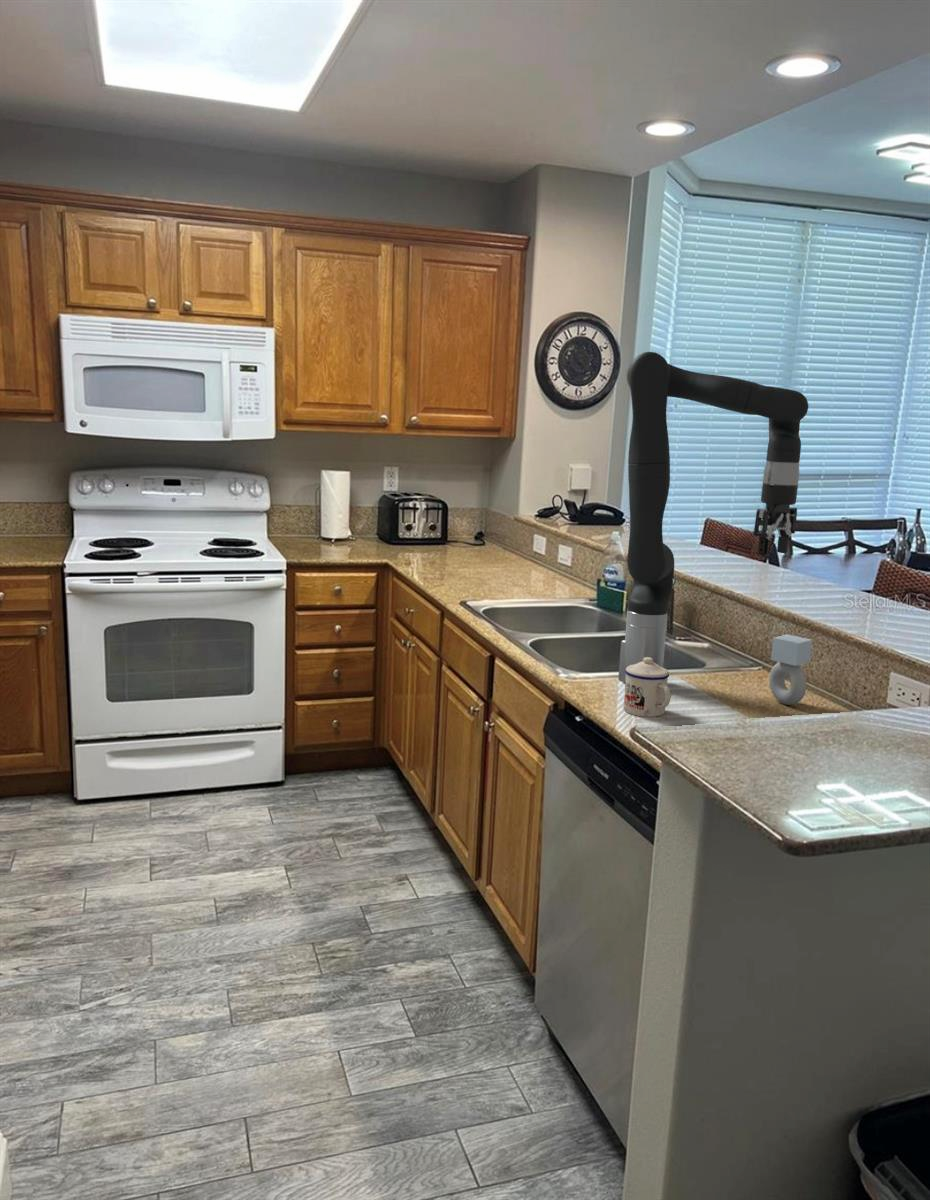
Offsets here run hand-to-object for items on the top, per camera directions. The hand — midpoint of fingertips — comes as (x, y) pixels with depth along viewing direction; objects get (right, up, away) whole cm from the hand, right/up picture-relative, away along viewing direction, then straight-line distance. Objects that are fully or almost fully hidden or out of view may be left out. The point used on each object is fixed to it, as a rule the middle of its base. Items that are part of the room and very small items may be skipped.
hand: (772, 554), depth 208 cm
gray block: (+2, -24, -6) cm, 25 cm away
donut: (+1, -34, -4) cm, 34 cm away
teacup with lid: (-31, -34, -14) cm, 49 cm away
